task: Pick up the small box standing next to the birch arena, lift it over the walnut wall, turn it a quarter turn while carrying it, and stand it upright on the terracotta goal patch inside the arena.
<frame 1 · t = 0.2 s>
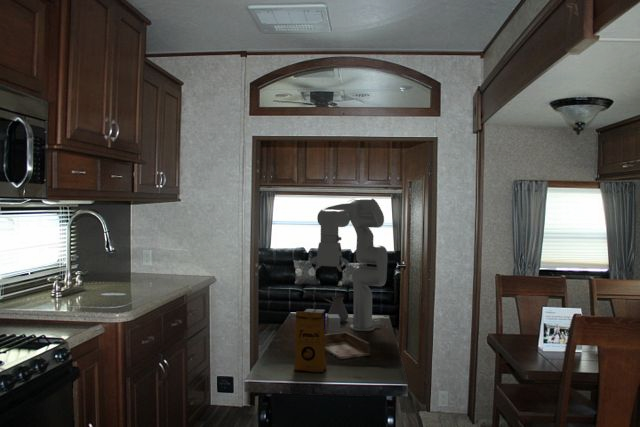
hand: (328, 279, 203), 31 cm above the table, tool pointing down, fingers open, 9 cm apart
puzzle cube: (313, 331, 237), on the table
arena: (343, 350, 205), on the table
coffee pot: (328, 320, 260), on the table
small box: (333, 338, 225), on the table
coffee package: (310, 370, 181), on the table
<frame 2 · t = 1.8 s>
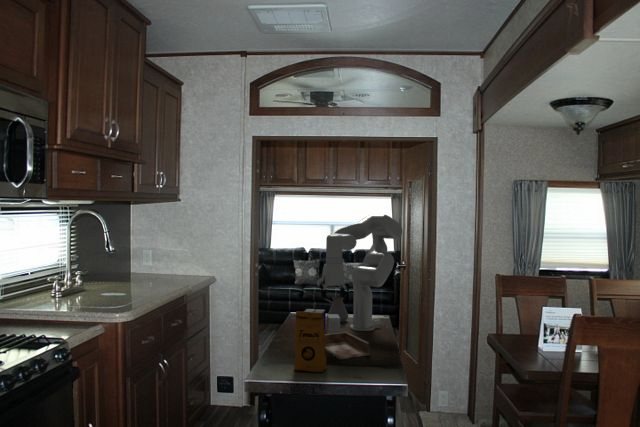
hand: (333, 297, 224), 19 cm above the table, tool pointing down, fingers open, 9 cm apart
nothing on the table moved.
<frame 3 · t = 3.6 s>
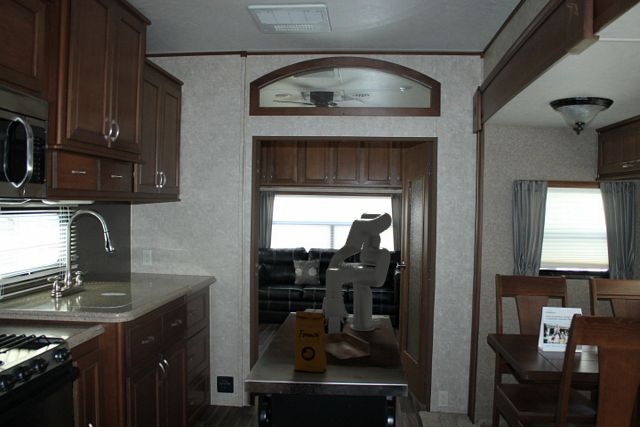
hand: (333, 332, 225), 3 cm above the table, tool pointing down, fingers closed on small box, 7 cm apart
small box: (333, 338, 225), on the table, touching gripper
everything else where it was.
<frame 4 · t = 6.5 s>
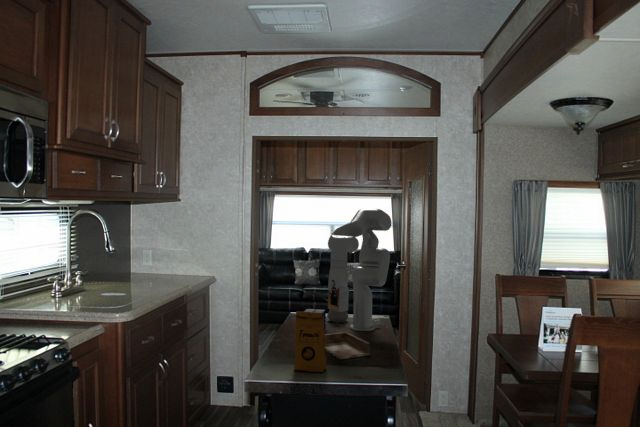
hand: (338, 303, 215), 18 cm above the table, tool pointing down, fingers closed on small box, 7 cm apart
small box: (338, 310, 215), point 15 cm above the table, touching gripper
everything else where it was.
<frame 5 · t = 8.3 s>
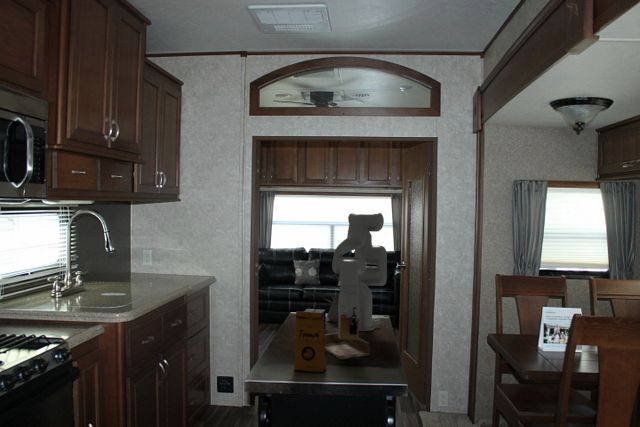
hand: (348, 331, 200), 10 cm above the table, tool pointing down, fingers closed on small box, 7 cm apart
small box: (348, 338, 200), point 7 cm above the table, touching gripper
everything else where it was.
when the fingers open (5 cm above the table, at t = 9.6 s): small box drops 1 cm, resting on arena.
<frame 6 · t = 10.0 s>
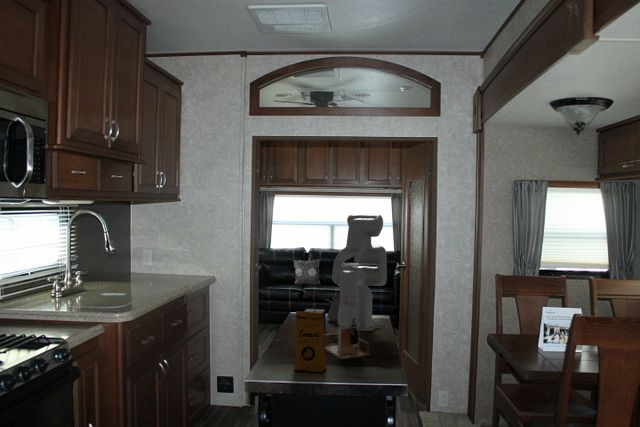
hand: (348, 340, 200), 6 cm above the table, tool pointing down, fingers open, 9 cm apart
small box: (348, 352, 200), point 1 cm above the table, touching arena
everything else where it was.
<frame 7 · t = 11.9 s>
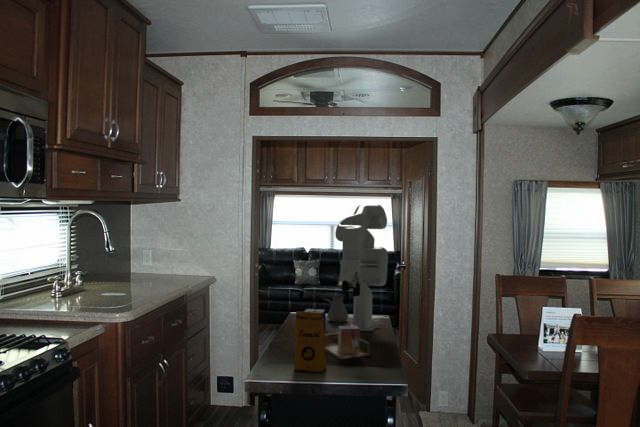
hand: (350, 293, 212), 23 cm above the table, tool pointing down, fingers open, 9 cm apart
nothing on the table moved.
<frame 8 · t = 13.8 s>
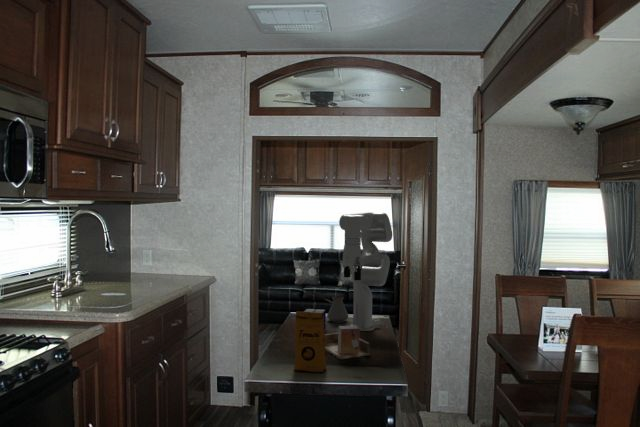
hand: (352, 278, 223), 28 cm above the table, tool pointing down, fingers open, 9 cm apart
nothing on the table moved.
at the end: small box 0.1 cm from the target spot, point 0.9 cm above the table; small box tilted 0°; the gripper is holding nothing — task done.
